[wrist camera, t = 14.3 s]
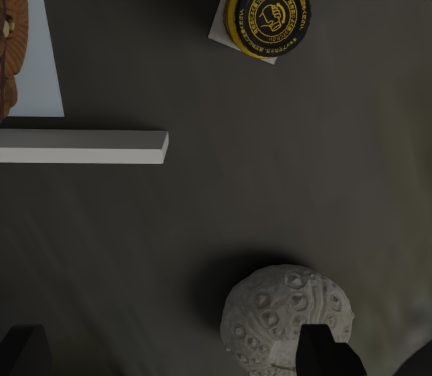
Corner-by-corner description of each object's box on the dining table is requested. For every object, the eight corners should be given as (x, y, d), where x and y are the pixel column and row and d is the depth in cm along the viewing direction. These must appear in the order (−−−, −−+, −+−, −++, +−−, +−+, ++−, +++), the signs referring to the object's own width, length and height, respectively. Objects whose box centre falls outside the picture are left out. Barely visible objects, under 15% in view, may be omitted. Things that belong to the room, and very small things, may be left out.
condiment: (207, 37, 35) (208, 47, 24) (240, -58, 31) (258, -97, 20) (273, 64, 36) (301, 85, 25) (311, -24, 32) (363, -44, 22)
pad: (-53, -79, 30) (-54, -79, 30) (29, -76, 30) (28, -77, 30) (-1, 115, 37) (-2, 115, 37) (64, 116, 38) (63, 116, 37)
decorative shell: (364, 288, 50) (398, 347, 41) (283, 355, 56) (297, 419, 47) (272, 228, 45) (289, 280, 36) (194, 309, 51) (192, 371, 42)
